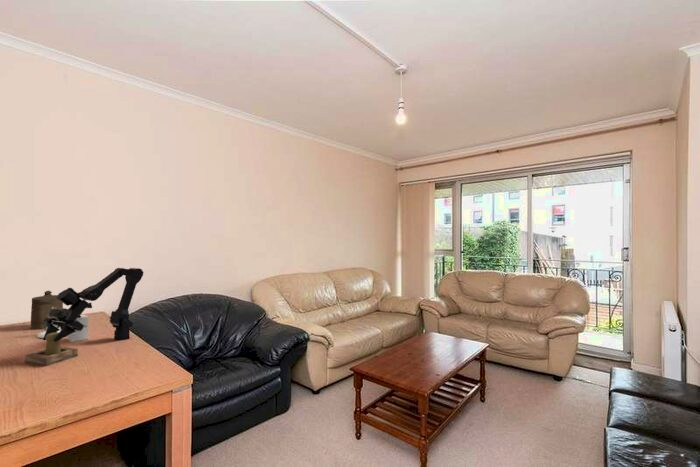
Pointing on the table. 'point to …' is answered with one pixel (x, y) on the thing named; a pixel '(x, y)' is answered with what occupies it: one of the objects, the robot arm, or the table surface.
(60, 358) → the walnut pocket block
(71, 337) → the supplement box
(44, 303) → the wooden container
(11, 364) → the table surface
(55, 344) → the olive mushroom shape
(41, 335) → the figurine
